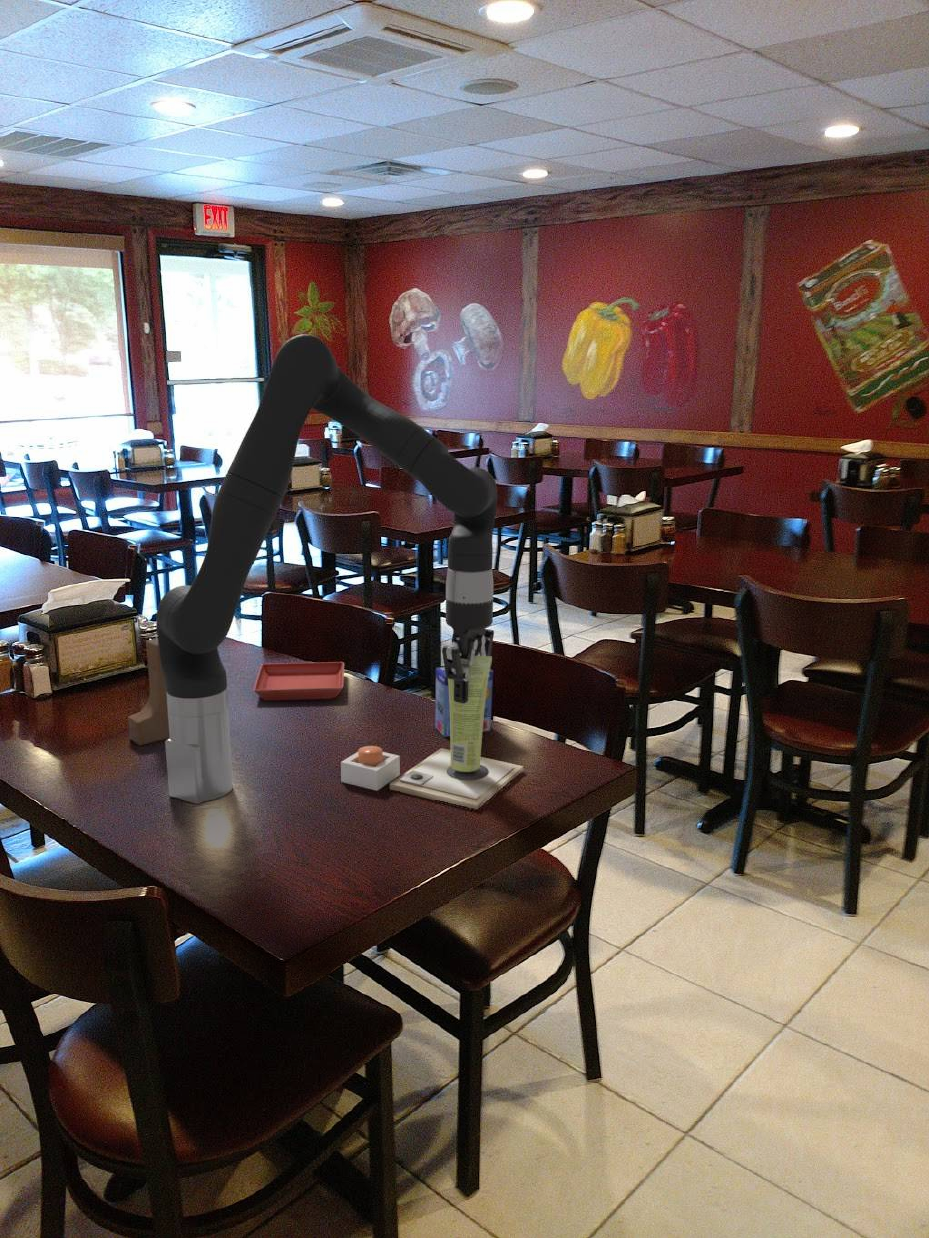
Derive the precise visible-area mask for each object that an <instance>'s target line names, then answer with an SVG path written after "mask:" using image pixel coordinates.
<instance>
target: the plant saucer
mask: <svg viewBox="0 0 929 1238" xmlns="http://www.w3.org/2000/svg"><path fill="white" fill-rule="evenodd" d="M344 670H345V662H343V661H333V662H332V661H327V662H323V661H322V662H283V663H279V662H278V663H263V664H261V665H260V668H259V671H258V674H257V677H256V680H255V683H254V686H253V691H254V692H255V694H257V696H259V697H260V698H261V699H262V700H264V701H291V700H293V701H294V700H295V701H296V700H298V701H299V700H300V701H301V700H331V699H335V698H336V697H337V696H338V695H339V694H340V693H341V691H342V690H343V688H344V680H345V679H344V676H345V671H344Z"/></svg>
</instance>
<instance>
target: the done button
mask: <svg viewBox="0 0 929 1238" xmlns="http://www.w3.org/2000/svg"><path fill="white" fill-rule="evenodd" d="M357 752H358V763H360V764H364V765H368V766H373V767H375V766H377V765H379V764H380V763H382V762H383V752H384V751H383V748H381V747H380V746H377V745H366V746H362V747H360V748H358V751H357Z"/></svg>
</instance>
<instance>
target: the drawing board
mask: <svg viewBox="0 0 929 1238" xmlns="http://www.w3.org/2000/svg"><path fill="white" fill-rule="evenodd" d="M521 771H523V772H524V765H518V764H514V763H510V762H506V761H501V760H497V759H492V758H487V757H483V756H481V757H480V767H479V769H477V770H475V771H471V772H461V771H457V770H454V769H453V768H451V765H450V749H446V748H443V747H441V748H439V749H438V750H436V751H435V752H434V753H431V755H429V756H428V757H426V758H425V759H423V760H422V761H420V762H418V763H417V764H416V765H415V766H413V767H412V768H410V769H409V770H407V771H406V772H404V773H403V774H402V775H401V774H400V775H399V776H398V777H396V778H395V779H393V780H392V781H390V782H389V790H391V791H395V792H399V791H400V792H399V793H403V794H407V795H412V796H416V797H419V798H424V799H428V800H431V801H435V800H440V801H444V802H448V803H451V804H456V805H461V806H466V807H468V808H474V809H478V808H479V807H481V806H482V805H483V803H485V802H486V801H487V800H489V799H490V798H491V797H492V796H493V795H494V794H495V793H496V792H497V791H498V790H500V789H501V788H503V786H505V785H506V784H507V783H508V782H509V781H510V780H512V779H513V778H514V777H515V776H516V775H517V774H518V773H520V772H521ZM451 804H450V805H451ZM481 808H482V807H481Z"/></svg>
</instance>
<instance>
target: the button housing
mask: <svg viewBox="0 0 929 1238" xmlns="http://www.w3.org/2000/svg"><path fill="white" fill-rule="evenodd" d="M400 760H401V756H400V755H398V754H394V753H393V754H392V753H389V752H386V751H383V762H382V763H380V764H379V765H377V766H375V767H373V766H368V765H364V764H360V763H358V751H356V752H355V753H354V754H352V755H350V756H349V757H347V758H345V759H343V760H342V761H340V779H341V780H340V781H341V783H344V784H348V785H353V786H357V787H360V788H364V789H369V790H373V791H379V790H380V789H382V788H384V786H386V785H388V784H390V783H391V782H393V781H394V780H396V779H397V778H399V777H400V776H401V773H400V771H401V768H400V767H401V765H400V764H401V763H400V762H401V761H400Z"/></svg>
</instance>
